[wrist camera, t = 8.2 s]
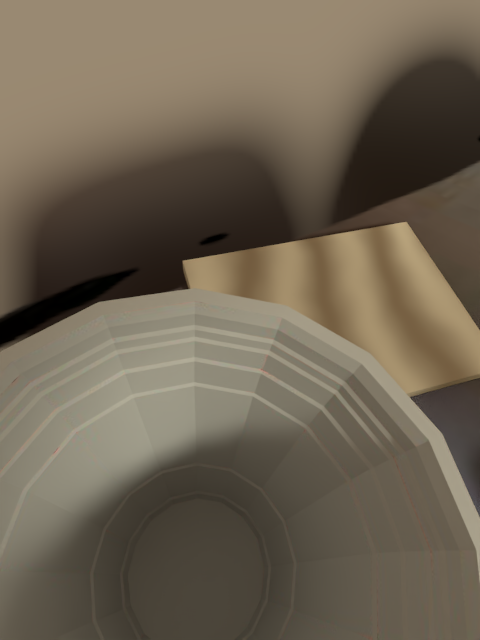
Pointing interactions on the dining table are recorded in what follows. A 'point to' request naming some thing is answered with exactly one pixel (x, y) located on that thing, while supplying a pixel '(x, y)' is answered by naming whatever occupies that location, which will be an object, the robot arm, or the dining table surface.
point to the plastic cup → (223, 483)
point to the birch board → (361, 299)
